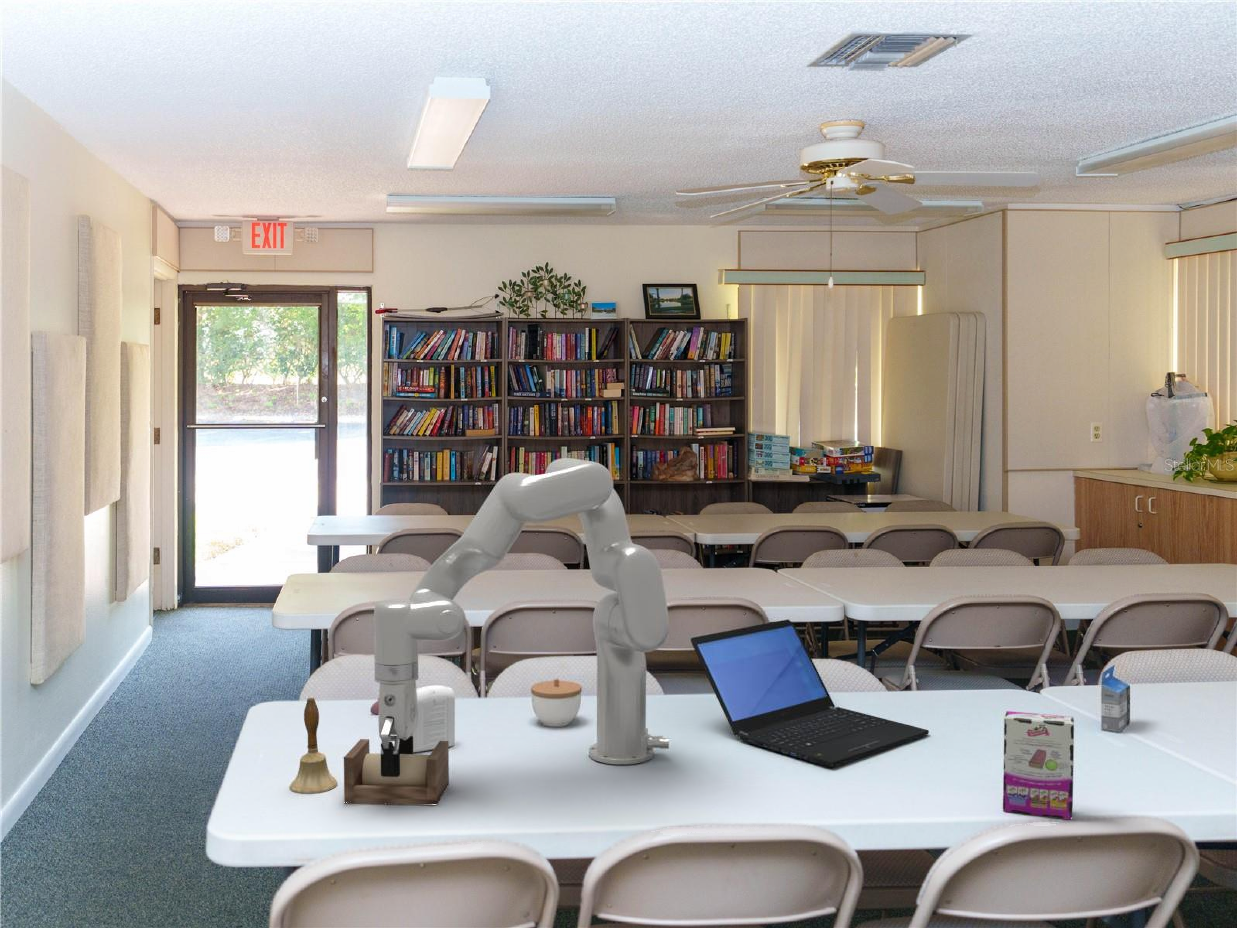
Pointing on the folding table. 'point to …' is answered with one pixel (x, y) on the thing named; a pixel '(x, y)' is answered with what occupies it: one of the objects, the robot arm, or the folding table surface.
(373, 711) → the pink rounded lump
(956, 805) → the folding table surface
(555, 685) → the lidded jar
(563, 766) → the folding table surface
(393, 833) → the folding table surface
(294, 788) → the hand bell
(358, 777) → the roll cradle
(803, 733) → the laptop
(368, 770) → the paper roll
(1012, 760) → the candy bar box
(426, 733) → the photo printer
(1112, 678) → the label tape box
